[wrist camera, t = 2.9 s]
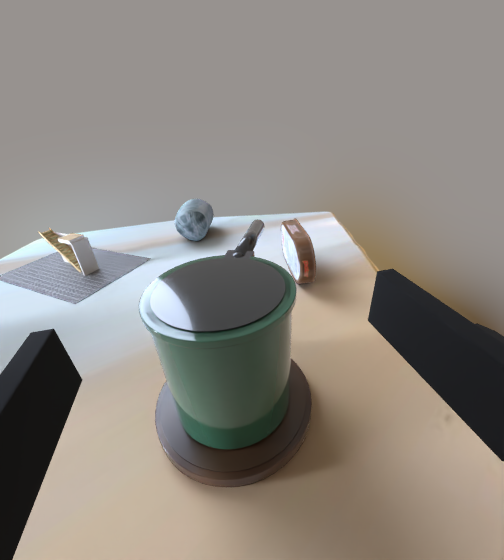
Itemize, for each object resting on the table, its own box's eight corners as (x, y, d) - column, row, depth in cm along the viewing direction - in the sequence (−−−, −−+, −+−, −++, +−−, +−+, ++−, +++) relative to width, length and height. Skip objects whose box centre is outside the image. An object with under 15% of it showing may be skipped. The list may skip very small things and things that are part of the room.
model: (85, 276, 53) (69, 238, 49) (51, 267, 57) (34, 232, 53) (99, 268, 55) (85, 232, 51) (65, 261, 60) (50, 227, 56)
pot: (286, 467, 21) (287, 348, 14) (149, 439, 23) (100, 327, 17) (302, 302, 39) (306, 218, 32) (224, 296, 41) (214, 217, 35)
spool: (214, 231, 61) (190, 189, 59) (180, 250, 63) (156, 211, 61) (227, 225, 74) (208, 191, 72) (199, 241, 76) (179, 209, 74)
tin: (316, 292, 44) (320, 243, 39) (296, 294, 43) (298, 245, 39) (294, 252, 56) (295, 212, 52) (279, 254, 56) (278, 214, 52)
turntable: (122, 441, 25) (118, 433, 24) (210, 335, 36) (209, 327, 35) (281, 526, 19) (281, 518, 18) (325, 367, 30) (326, 359, 30)
